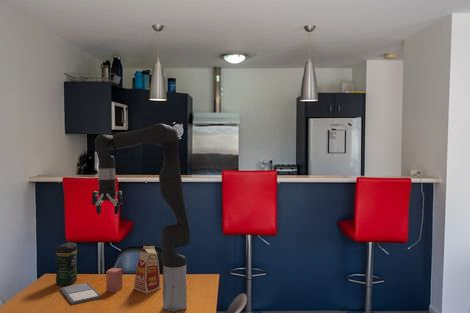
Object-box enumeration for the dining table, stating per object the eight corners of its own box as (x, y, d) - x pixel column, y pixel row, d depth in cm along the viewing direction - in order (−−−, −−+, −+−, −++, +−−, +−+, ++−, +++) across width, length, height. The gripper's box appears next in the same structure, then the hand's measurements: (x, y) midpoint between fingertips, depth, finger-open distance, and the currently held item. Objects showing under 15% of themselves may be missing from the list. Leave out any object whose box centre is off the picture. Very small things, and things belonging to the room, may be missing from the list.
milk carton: (146, 293, 176) (146, 248, 176) (133, 289, 182) (133, 245, 181) (162, 287, 183) (162, 244, 183) (148, 283, 189) (148, 241, 189)
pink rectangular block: (122, 288, 182) (122, 268, 182) (116, 292, 178) (116, 272, 177) (112, 287, 184) (112, 267, 183) (106, 291, 179) (106, 271, 179)
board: (101, 298, 170) (101, 295, 170) (71, 304, 163) (71, 301, 163) (87, 285, 186) (87, 282, 186) (60, 290, 179) (60, 287, 179)
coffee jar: (69, 286, 184) (69, 246, 184) (53, 285, 185) (53, 245, 185) (80, 279, 194) (79, 241, 194) (64, 278, 195) (64, 240, 194)
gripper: (125, 178, 185) (125, 213, 185) (97, 178, 188) (97, 212, 188) (117, 178, 178) (117, 215, 178) (88, 179, 181) (88, 215, 181)
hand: (107, 214), depth 183 cm, fingers open, 8 cm apart
